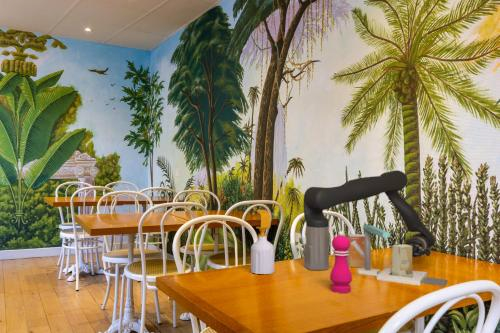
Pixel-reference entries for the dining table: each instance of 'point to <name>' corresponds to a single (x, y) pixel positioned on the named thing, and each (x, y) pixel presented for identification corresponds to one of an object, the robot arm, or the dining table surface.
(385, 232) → the swing bar
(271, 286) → the dining table surface
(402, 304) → the dining table surface
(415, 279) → the holder
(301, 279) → the dining table surface
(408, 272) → the skincare box
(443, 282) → the coaster
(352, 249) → the small box
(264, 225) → the soap bottle
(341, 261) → the pepper mill
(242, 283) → the dining table surface
